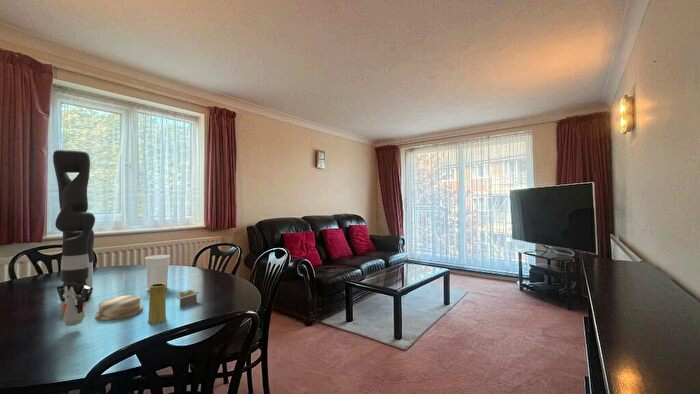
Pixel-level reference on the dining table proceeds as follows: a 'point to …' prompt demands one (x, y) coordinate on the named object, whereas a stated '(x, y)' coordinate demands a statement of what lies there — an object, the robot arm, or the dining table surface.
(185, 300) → the platform
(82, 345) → the dining table surface
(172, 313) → the dining table surface
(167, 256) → the cup
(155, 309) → the vase
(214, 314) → the dining table surface
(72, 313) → the salt shaker
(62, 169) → the robot arm
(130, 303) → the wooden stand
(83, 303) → the clementine
